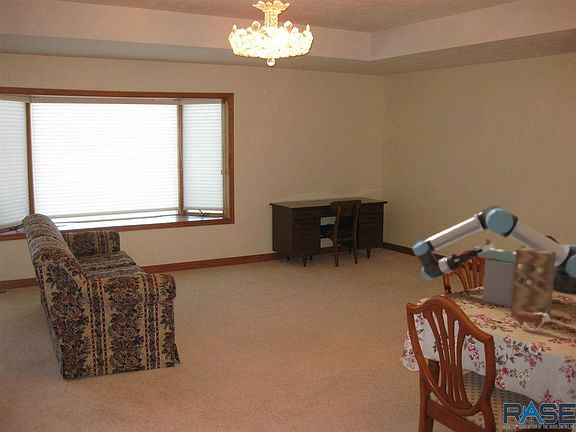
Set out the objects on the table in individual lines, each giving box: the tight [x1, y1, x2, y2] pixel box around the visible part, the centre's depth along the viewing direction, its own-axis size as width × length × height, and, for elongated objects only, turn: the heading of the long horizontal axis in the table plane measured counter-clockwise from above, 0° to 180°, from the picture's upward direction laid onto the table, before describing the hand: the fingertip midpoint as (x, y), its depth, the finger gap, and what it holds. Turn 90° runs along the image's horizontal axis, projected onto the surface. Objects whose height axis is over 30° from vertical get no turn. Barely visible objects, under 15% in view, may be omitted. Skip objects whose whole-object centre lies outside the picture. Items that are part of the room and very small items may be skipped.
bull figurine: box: [515, 311, 551, 333], centre depth 250 cm, size 4×13×8 cm, turn 58°
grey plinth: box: [482, 258, 515, 308], centre depth 288 cm, size 13×8×20 cm, turn 48°
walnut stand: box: [510, 246, 556, 326], centre depth 262 cm, size 14×8×30 cm, turn 48°
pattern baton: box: [472, 245, 516, 263], centre depth 287 cm, size 24×4×4 cm, turn 48°
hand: (491, 246), depth 289 cm, fingers open, 4 cm apart
